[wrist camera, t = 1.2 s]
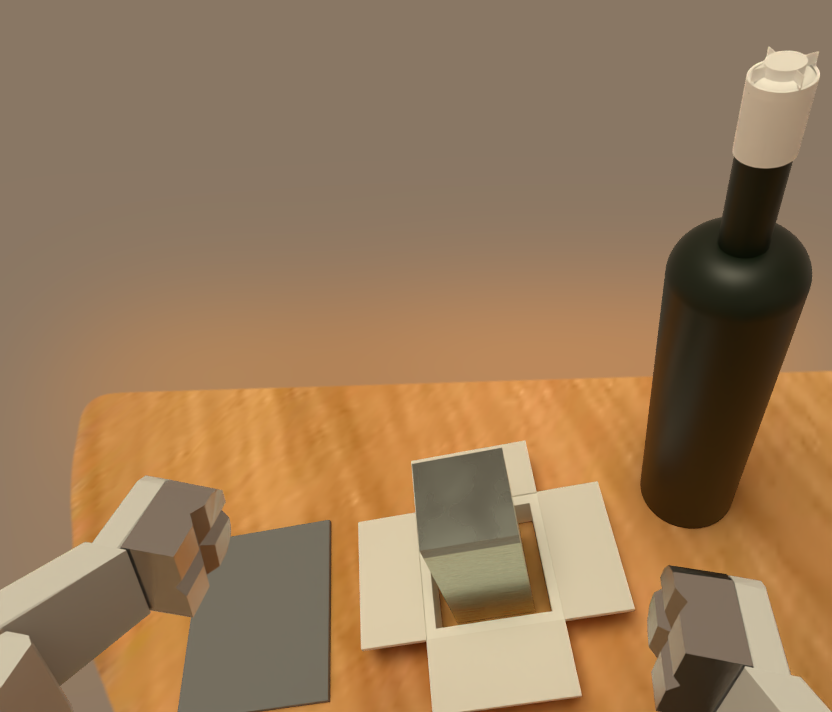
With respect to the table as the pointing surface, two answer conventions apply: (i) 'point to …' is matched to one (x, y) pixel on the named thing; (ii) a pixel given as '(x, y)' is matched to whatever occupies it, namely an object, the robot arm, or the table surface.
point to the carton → (503, 638)
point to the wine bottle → (730, 309)
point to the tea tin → (472, 535)
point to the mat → (263, 625)
